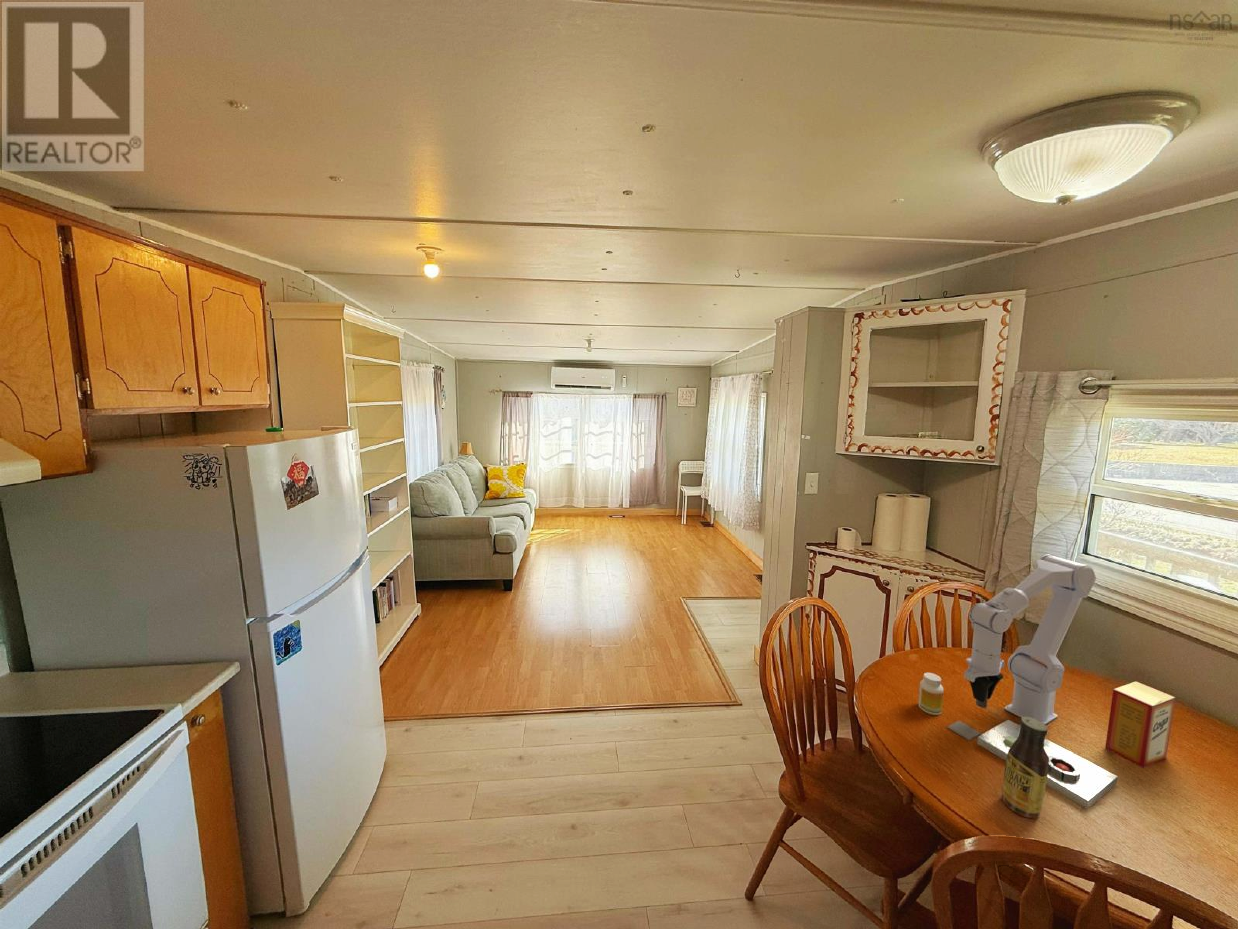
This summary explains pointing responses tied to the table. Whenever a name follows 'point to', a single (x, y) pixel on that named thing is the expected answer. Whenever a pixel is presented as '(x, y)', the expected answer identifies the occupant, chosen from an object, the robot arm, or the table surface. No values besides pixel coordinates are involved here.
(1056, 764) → the trip button
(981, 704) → the dark grey cylinder
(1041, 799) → the sauce bottle
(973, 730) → the pad
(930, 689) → the supplement bottle
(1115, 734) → the baking soda box
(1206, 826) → the table surface
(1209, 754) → the table surface
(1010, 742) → the pad
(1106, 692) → the table surface
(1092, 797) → the panel
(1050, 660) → the robot arm
